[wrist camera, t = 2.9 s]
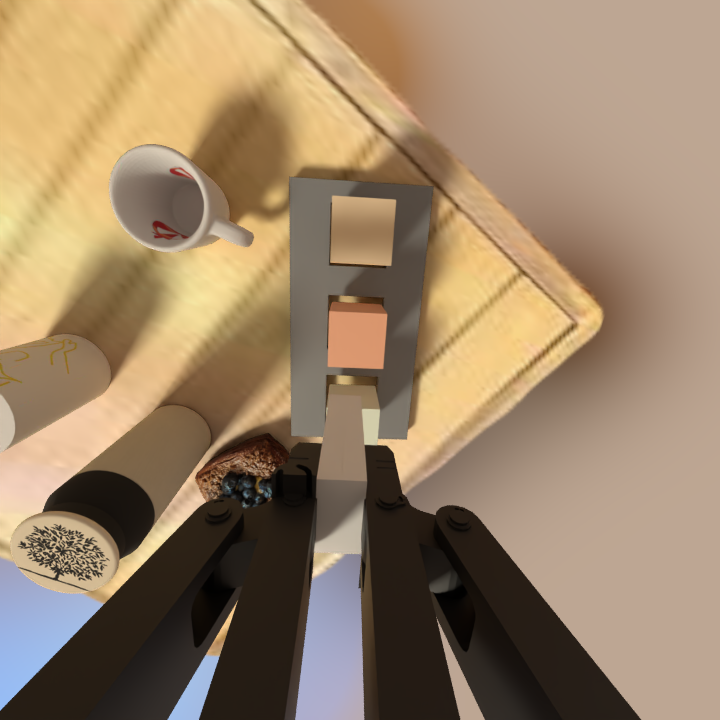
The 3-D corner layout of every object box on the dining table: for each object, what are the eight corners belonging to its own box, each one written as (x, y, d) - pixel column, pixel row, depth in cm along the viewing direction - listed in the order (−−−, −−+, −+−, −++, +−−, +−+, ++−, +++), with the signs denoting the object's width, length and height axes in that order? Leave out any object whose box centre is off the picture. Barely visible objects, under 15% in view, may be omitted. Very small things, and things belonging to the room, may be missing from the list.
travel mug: (165, 391, 40) (30, 493, 23) (224, 427, 42) (139, 546, 25) (134, 439, 42) (-13, 567, 25) (191, 471, 44) (91, 612, 27)
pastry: (317, 485, 45) (313, 518, 40) (243, 523, 47) (229, 560, 41) (271, 421, 42) (259, 447, 37) (193, 464, 44) (170, 495, 38)
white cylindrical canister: (106, 337, 38) (4, 372, 27) (114, 403, 41) (23, 462, 29) (30, 330, 38) (-108, 363, 26) (42, 398, 40) (-79, 455, 29)
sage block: (329, 384, 37) (326, 407, 32) (375, 385, 38) (380, 409, 32) (328, 424, 39) (325, 454, 33) (372, 426, 39) (376, 455, 33)
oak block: (334, 205, 32) (332, 195, 26) (387, 209, 32) (396, 199, 27) (333, 261, 34) (330, 262, 28) (383, 263, 34) (391, 265, 28)
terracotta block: (332, 301, 35) (329, 311, 29) (380, 304, 35) (387, 314, 29) (330, 349, 36) (327, 366, 31) (377, 351, 37) (383, 369, 31)
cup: (277, 206, 35) (258, 192, 27) (249, 277, 37) (224, 284, 29) (174, 152, 33) (122, 121, 26) (150, 230, 35) (95, 224, 28)
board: (291, 180, 34) (289, 176, 33) (429, 189, 35) (433, 186, 33) (293, 429, 42) (291, 436, 41) (404, 432, 43) (406, 439, 42)
